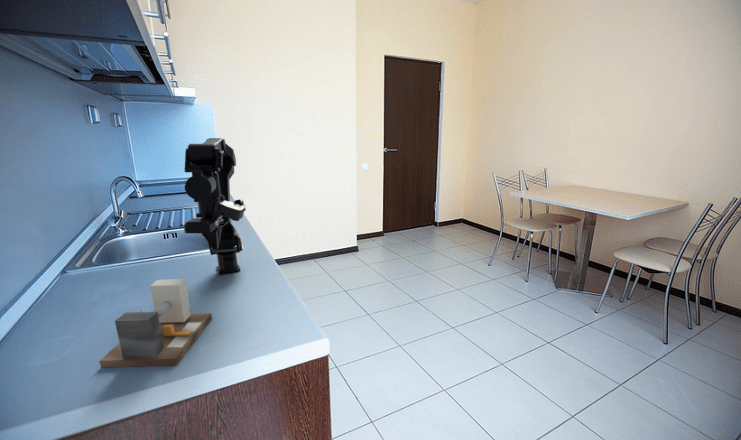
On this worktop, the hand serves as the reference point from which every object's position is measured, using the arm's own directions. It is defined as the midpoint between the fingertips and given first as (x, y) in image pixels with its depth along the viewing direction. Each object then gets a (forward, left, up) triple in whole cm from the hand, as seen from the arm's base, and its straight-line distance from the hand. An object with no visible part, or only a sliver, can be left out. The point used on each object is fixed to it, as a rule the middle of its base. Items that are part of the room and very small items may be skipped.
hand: (215, 248), depth 93 cm
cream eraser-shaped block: (+17, -12, -10) cm, 23 cm away
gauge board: (+20, -14, -12) cm, 28 cm away
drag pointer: (+22, -11, -10) cm, 27 cm away
